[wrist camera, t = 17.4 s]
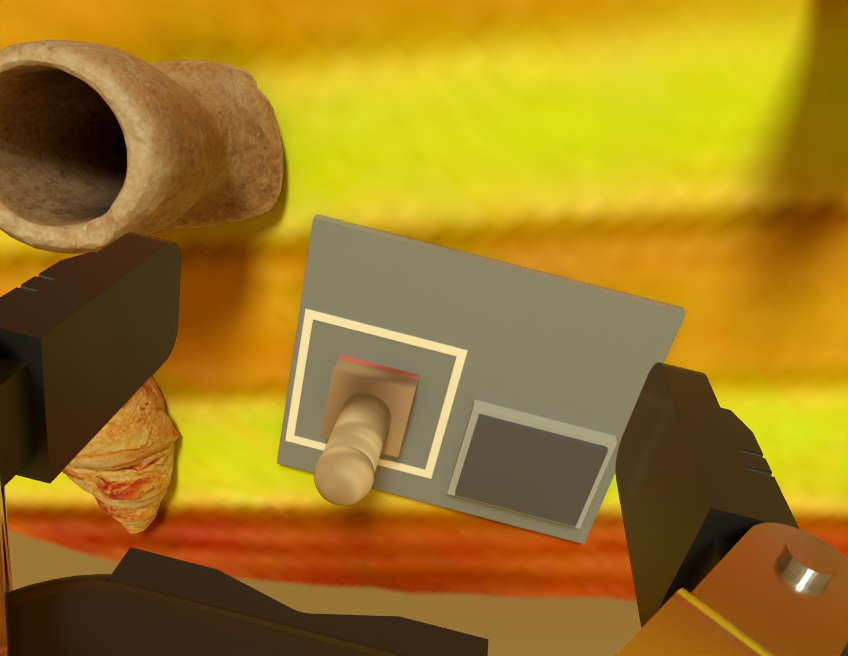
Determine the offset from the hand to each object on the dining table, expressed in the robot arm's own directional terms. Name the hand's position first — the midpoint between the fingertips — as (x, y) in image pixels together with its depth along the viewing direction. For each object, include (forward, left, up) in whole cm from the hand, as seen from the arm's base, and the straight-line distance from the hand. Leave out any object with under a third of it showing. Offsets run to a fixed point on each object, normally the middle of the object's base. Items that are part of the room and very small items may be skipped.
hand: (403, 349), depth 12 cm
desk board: (-3, +20, -32) cm, 38 cm away
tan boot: (+19, +7, -32) cm, 38 cm away
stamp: (+3, +22, -31) cm, 38 cm away
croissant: (+22, +30, -32) cm, 49 cm away
